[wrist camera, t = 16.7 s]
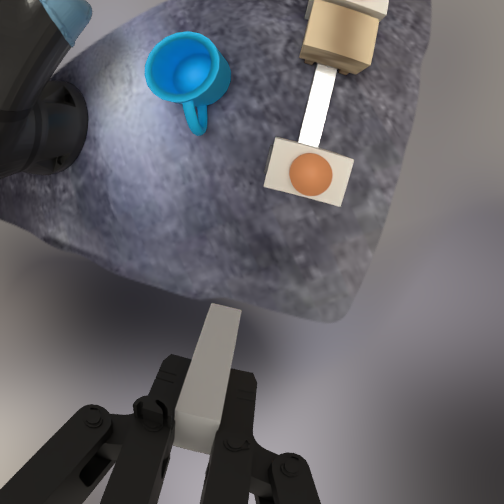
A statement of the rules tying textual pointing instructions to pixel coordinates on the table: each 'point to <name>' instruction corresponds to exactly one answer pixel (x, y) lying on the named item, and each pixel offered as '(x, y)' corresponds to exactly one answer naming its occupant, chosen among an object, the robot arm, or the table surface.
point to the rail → (317, 105)
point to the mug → (188, 75)
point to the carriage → (339, 38)
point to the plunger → (310, 174)
